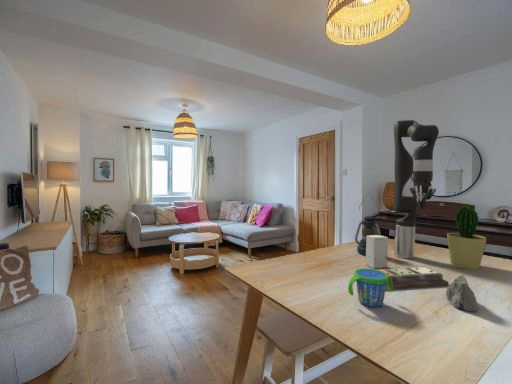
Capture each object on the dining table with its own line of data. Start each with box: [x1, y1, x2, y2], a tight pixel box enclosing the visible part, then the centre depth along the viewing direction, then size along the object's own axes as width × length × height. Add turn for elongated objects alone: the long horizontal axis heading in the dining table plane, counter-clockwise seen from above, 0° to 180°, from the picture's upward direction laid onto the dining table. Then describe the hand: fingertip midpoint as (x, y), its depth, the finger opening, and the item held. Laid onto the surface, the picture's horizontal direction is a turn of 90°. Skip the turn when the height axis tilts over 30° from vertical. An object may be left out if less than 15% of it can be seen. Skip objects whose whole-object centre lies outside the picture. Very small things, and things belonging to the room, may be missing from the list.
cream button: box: [409, 266, 438, 274], centre depth 111 cm, size 7×7×2 cm
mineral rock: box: [445, 275, 479, 313], centre depth 89 cm, size 13×11×10 cm
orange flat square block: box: [378, 268, 394, 276], centre depth 107 cm, size 7×7×2 cm
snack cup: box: [347, 268, 394, 308], centre depth 89 cm, size 16×10×10 cm
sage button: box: [388, 267, 417, 276], centre depth 109 cm, size 7×7×2 cm
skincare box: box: [365, 234, 389, 269], centre depth 128 cm, size 8×6×15 cm
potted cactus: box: [446, 205, 487, 270], centre depth 130 cm, size 15×15×30 cm
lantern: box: [354, 192, 382, 257], centre depth 149 cm, size 14×12×35 cm
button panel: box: [374, 266, 450, 291], centre depth 109 cm, size 14×30×4 cm, turn 100°
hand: (421, 209), depth 118 cm, fingers closed
